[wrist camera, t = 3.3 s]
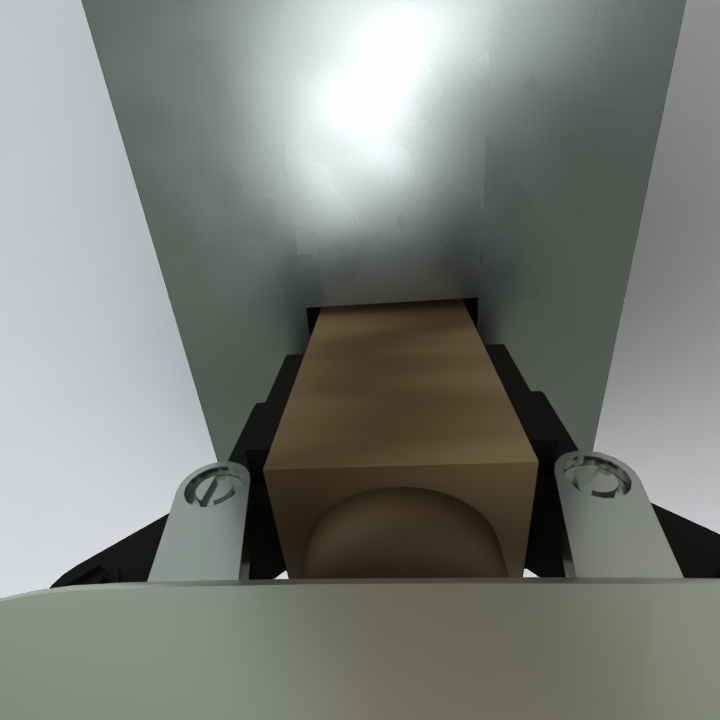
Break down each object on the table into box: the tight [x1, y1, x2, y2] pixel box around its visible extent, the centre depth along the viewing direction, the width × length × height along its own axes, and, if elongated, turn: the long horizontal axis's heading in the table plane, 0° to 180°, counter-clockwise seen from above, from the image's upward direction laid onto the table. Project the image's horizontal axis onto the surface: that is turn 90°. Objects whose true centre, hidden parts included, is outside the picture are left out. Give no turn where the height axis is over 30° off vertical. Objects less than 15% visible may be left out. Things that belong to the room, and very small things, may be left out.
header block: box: [81, 0, 686, 462], centre depth 12 cm, size 12×26×5 cm, turn 5°
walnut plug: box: [263, 298, 539, 579], centre depth 11 cm, size 4×4×11 cm
